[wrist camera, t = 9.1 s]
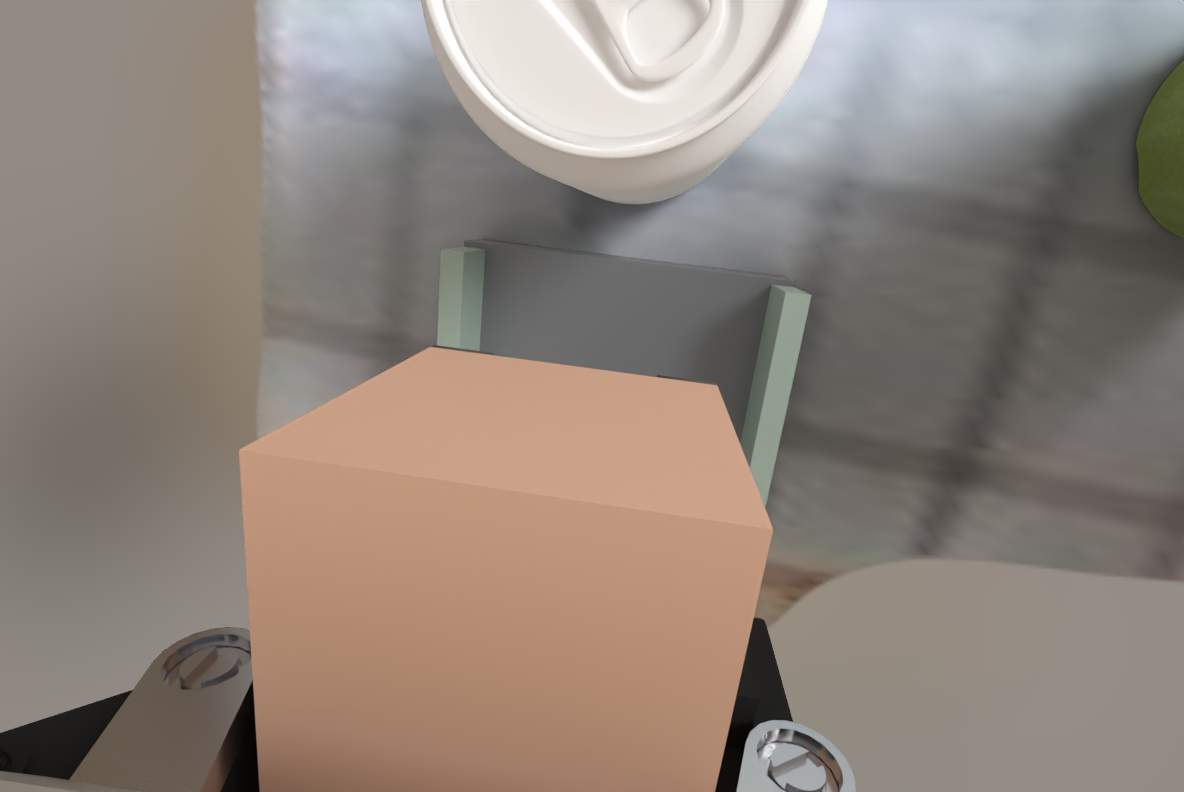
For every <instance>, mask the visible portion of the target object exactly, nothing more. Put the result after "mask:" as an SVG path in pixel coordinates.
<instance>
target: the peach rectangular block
mask: <svg viewBox="0 0 1184 792" xmlns="http://www.w3.org/2000/svg"><path fill="white" fill-rule="evenodd" d="M239 458H240V475H241V492H242V508H243V526H244V541H245V559H246V574H247V591H248V608H249V624H250V641H251V658H252V674H253V691H254V707H255V724H256V740H257V757H258V773H259V790H260V792H715V789H716V785H717V780H718V776H719V771H720V767H721V763H722V758H723V754H724V749H725V745H726V740H727V736H728V731H729V727H730V722H731V718H732V713H733V709H734V704H735V700H736V695H737V691H738V686H739V682H740V677H741V673H742V668H743V664H744V659H745V655H746V650H747V646H748V641H749V637H750V632H751V628H752V623H753V619H754V614H755V610H756V605H757V601H758V596H759V592H760V587H761V583H762V579H763V574H764V570H765V565H766V561H767V556H768V552H769V547H770V543H771V538H772V534H773V527H772V525H771V522H770V520H769V517H768V514H767V512H766V509H765V507H764V504H763V502H762V499H761V496H760V494H759V491H758V489H757V486H756V484H755V481H754V478H753V476H752V473H751V471H750V468H749V466H748V463H747V460H746V458H745V455H744V453H743V450H742V448H741V445H740V442H739V440H738V437H737V435H736V432H735V429H734V427H733V424H732V422H731V419H730V417H729V414H728V411H727V409H726V406H725V404H724V401H723V399H722V396H721V393H720V391H719V388H718V386H717V384H716V383H715V382H707V381H700V380H692V379H685V378H677V377H670V376H662V375H658V376H657V377H651V376H644V375H636V374H629V373H621V372H614V371H606V370H599V369H592V368H584V367H577V366H569V365H562V364H554V363H547V362H539V361H532V360H524V359H517V358H510V357H502V356H496V355H495V354H493V353H491V352H483V351H476V350H468V349H461V348H453V347H446V346H438V345H434V346H431V347H429V348H427V349H425V350H423V351H421V352H420V353H418V354H416V355H414V356H412V357H410V358H408V359H407V360H405V361H403V362H401V363H399V364H397V365H395V366H394V367H392V368H390V369H388V370H386V371H384V372H383V373H381V374H379V375H377V376H375V377H373V378H371V379H370V380H368V381H366V382H364V383H362V384H360V385H358V386H357V387H355V388H353V389H351V390H349V391H347V392H345V393H344V394H342V395H340V396H338V397H336V398H334V399H332V400H331V401H329V402H327V403H325V404H323V405H321V406H319V407H318V408H316V409H314V410H312V411H310V412H308V413H306V414H305V415H303V416H301V417H299V418H297V419H295V420H293V421H292V422H290V423H288V424H286V425H284V426H282V427H280V428H279V429H277V430H275V431H273V432H271V433H269V434H267V435H266V436H264V437H262V438H260V439H258V440H256V441H254V442H253V443H251V444H249V445H247V446H245V447H243V448H241V449H240V450H239Z"/></svg>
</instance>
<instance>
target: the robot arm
mask: <svg viewBox="0 0 1184 792" xmlns="http://www.w3.org/2000/svg"><path fill="white" fill-rule="evenodd" d="M0 792H260V790H259V773H258V757H257V740H256V724H255V707H254V691H253V674H252V658H251V641H250V630H247V629H243V628H233V627H225V628H216V629H210V630H206V631H203V632H199V633H195V634H193V635H190V636H188V637H186V638H184V639H181V640H179V641H177V642H176V643H174V644H173V645H171V646H170V647H168V648H167V649H165V650H164V651H163V652H162V653H161V654H160V655H159V656H158V657H157V658H156V659H155V660H154V661H153V663H152V664H151V665H150V667H149V668H148V669H147V671H146V672H145V674H144V675H143V677H142V678H141V680H140V681H139V682H138V684H137V685H136V686H135V688H134V689H133V690H131V691H128V692H125V693H122V694H119V695H116V696H113V697H110V698H107V699H104V700H101V701H97V702H94V703H92V704H88V705H85V706H82V707H79V708H76V709H73V710H70V711H67V712H64V713H61V714H58V715H55V716H52V717H48V718H45V719H42V720H39V721H36V722H33V723H30V724H27V725H24V726H21V727H18V728H14V729H12V730H8V731H5V732H2V733H0ZM715 792H856V784H855V780H854V775H853V771H852V769H851V767H850V765H849V764H848V762H847V760H846V758H845V757H844V755H843V754H842V753H841V752H840V751H839V750H838V749H837V748H836V746H834V745H833V743H832V742H830V741H829V740H828V739H826V738H825V737H823V736H822V735H821V734H819V733H818V732H816V731H814V730H812V729H810V728H807V727H806V726H804V725H802V724H798V723H794V722H793V720H792V717H791V713H790V709H789V706H788V702H787V699H786V695H785V691H784V688H783V684H782V680H781V677H780V673H779V670H778V666H777V662H776V659H775V655H774V651H773V648H772V644H771V641H770V637H769V633H768V630H767V626H766V624H765V621H764V620H763V619H760V618H754V619H753V623H752V628H751V632H750V637H749V641H748V646H747V650H746V655H745V659H744V664H743V668H742V673H741V677H740V682H739V686H738V691H737V695H736V700H735V704H734V709H733V713H732V718H731V722H730V727H729V731H728V736H727V740H726V745H725V749H724V754H723V758H722V763H721V767H720V771H719V776H718V780H717V785H716V789H715Z"/></svg>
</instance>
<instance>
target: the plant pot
mask: <svg viewBox="0 0 1184 792" xmlns="http://www.w3.org/2000/svg"><path fill="white" fill-rule="evenodd" d="M1136 148H1137V153H1138V165H1139V183H1138V190H1139V194H1140V197H1141V199H1142V201H1143V202H1144V204H1145V206H1146V208H1147V209H1148V211H1149V212H1150V213H1151V214H1152V216H1153V217H1154V218H1155V219H1156V220H1157V222H1158V223H1159V224H1160V225H1161V226H1163V227H1164V228H1165V229H1167V230H1168V231H1169V232H1171V233H1173V234H1174V235H1176V236H1178V237H1180V238H1182V239H1184V60H1183V61H1182V62H1181V63H1180V64H1179V65H1178V66H1177V67H1176V68H1175V69H1174V70H1173V71H1172V73H1171V74H1170V75H1169V76H1168V77H1167V78H1166V80H1165V81H1164V82H1163V84H1162V85H1161V86H1160V88H1159V90H1158V91H1157V93H1156V94H1155V96H1154V97H1153V99H1152V101H1151V103H1150V104H1149V106H1148V108H1147V110H1146V112H1145V115H1144V117H1143V119H1142V121H1141V124H1140V127H1139V131H1138V135H1137V140H1136Z"/></svg>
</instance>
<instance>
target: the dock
mask: <svg viewBox="0 0 1184 792" xmlns="http://www.w3.org/2000/svg"><path fill="white" fill-rule="evenodd" d="M795 282H796V281H793V280H791V279H789V278H787V277H784V276H775V275H767V274H759V273H751V272H743V271H735V270H726V269H718V268H710V267H702V266H694V265H685V264H677V263H669V262H661V261H653V260H644V259H636V258H628V257H620V256H612V255H603V254H595V253H587V252H579V251H571V250H563V249H554V248H546V247H538V246H530V245H522V244H513V243H505V242H497V241H489V240H481V239H480V240H469V241H465V242H464V247H456V248H447V249H440V273H439V300H438V327H437V345H438V346H446V347H453V348H461V349H468V350H476V351H483V352H491V353H493V354H495V355H496V356H502V357H510V358H517V359H524V360H532V361H539V362H547V363H554V364H562V365H569V366H577V367H584V368H592V369H599V370H606V371H614V372H621V373H629V374H636V375H644V376H651V377H657V376H658V375H662V376H670V377H677V378H685V379H692V380H700V381H707V382H715V383H716V384H717V386H718V388H719V391H720V393H721V396H722V399H723V401H724V404H725V406H726V409H727V411H728V414H729V417H730V419H731V422H732V424H733V427H734V429H735V432H736V435H737V437H738V440H739V442H740V445H741V448H742V450H743V453H744V455H745V458H746V460H747V463H748V466H749V468H750V471H751V473H752V476H753V478H754V481H755V484H756V486H757V489H758V491H759V494H760V496H761V499H762V502H763V504H764V507H766V503H767V498H768V493H769V489H770V484H771V480H772V475H773V470H774V466H775V461H776V457H777V452H778V448H779V443H780V438H781V434H782V429H783V425H784V420H785V415H786V411H787V406H788V402H789V397H790V392H791V388H792V383H793V379H794V374H795V369H796V365H797V360H798V356H799V351H800V347H801V342H802V337H803V333H804V328H805V324H806V319H807V314H808V310H809V305H810V301H811V296H812V295H810V294H808V293H806V292H804V291H802V290H799V289H797V288H795Z"/></svg>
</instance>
